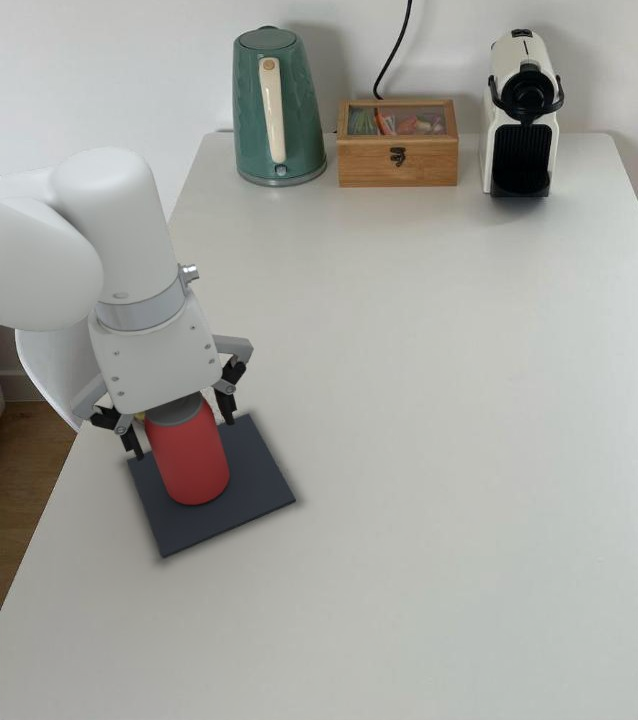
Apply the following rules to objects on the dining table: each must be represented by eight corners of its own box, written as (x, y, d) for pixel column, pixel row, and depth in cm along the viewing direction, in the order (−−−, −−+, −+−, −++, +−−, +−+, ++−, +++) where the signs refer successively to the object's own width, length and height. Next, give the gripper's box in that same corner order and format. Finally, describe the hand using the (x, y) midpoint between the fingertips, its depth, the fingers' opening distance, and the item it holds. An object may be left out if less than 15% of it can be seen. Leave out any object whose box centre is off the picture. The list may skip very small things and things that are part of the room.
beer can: (243, 473, 86) (222, 393, 78) (202, 517, 82) (175, 438, 74) (196, 450, 88) (171, 370, 80) (154, 492, 84) (123, 413, 76)
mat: (163, 558, 79) (162, 556, 79) (127, 462, 88) (126, 459, 88) (296, 501, 83) (295, 498, 83) (249, 415, 93) (248, 413, 92)
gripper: (222, 242, 73) (253, 379, 85) (24, 303, 68) (86, 441, 80) (251, 285, 69) (279, 425, 80) (39, 355, 63) (103, 494, 75)
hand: (183, 433), depth 80 cm, fingers open, 8 cm apart
